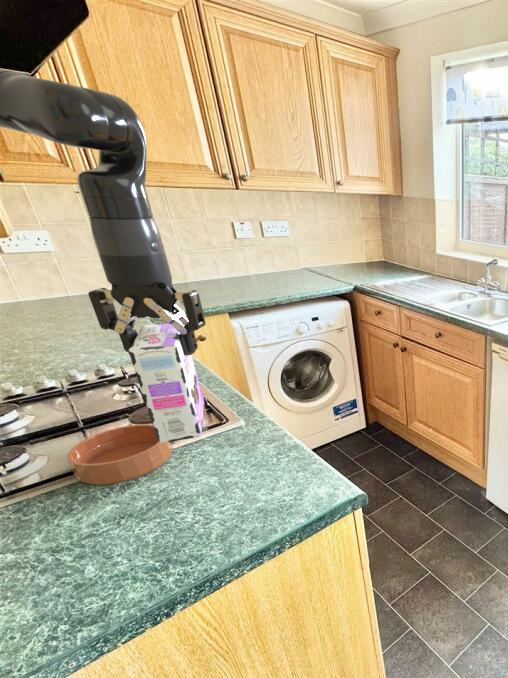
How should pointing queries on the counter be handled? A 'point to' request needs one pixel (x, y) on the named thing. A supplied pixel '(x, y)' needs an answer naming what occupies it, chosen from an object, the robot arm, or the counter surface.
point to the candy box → (168, 383)
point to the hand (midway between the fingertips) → (163, 353)
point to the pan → (118, 455)
